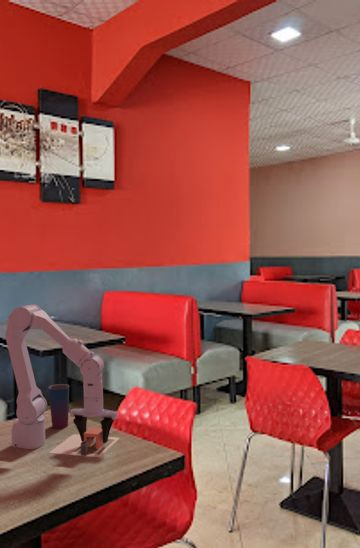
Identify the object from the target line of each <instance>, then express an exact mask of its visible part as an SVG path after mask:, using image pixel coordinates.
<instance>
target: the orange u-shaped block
mask: <svg viewBox="0 0 360 548" xmlns="http://www.w3.org/2000/svg"><path fill="white" fill-rule="evenodd" d="M90 437H96V438H94V439H95V441H94V439H93V440H92V441H90V442H89V443H88V448H89V447H90V446H92V445H93V444H94V443H95V450H100V449H101V448H102V447H103V446H104V445H106V443H103V432H102V428H101V427H99V428H98V427H89V429H86V432H85V433H84V442H85V441H86V440H87V439H89V438H90Z"/></svg>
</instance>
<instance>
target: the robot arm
mask: <svg viewBox="0 0 360 548" xmlns="http://www.w3.org/2000/svg"><path fill="white" fill-rule="evenodd" d="M7 320H8V323H7V326H6V328H5V329H6V331H5V334H4V336H5V341H6V345H7V349H8V353H9V357H10V361H11V366H12V370H13V373H14V377H15V382H16V386H17V391H18V395H17V397H16V406H17V407H16V412H15V413H16V418H17V419H16V420H15V421H14V422H13V424H12V426H11V447H12V448H20V449H26V450H34V449H39V448H42V447H43V446H45V445H46V422H45V420H46V419H45V412H46V410H47V409H48V403H47V400H46V398H45V397H44V396H43V393H42V390H41V389H40V388H39V387H38V386H37V384H36V380H35V376H34V371H33V366H32V361H31V358H30V354H29V350H28V346H27V343H26V336H27V335H28V333H29V331H31V329H32V330H41V331H43V332H44V333H45V334H46V335H48V336H49V337H50V338H51V339H52V340H54V341H55V342H56V343H57V344H58V345H59V346H61V347H62V353H63V354H64V355H65V356H66V357H67V358H68V360H70V361H71V362H73V363H74V364H75V366H76V367H78V368H79V372H80V374H81V375H82V377H83V381H82V383H83V408H72V409H71V410H69V413H70V417H71V418H74V419H73V420H72V421H73V424H74V425H75V427H76V429H77V432H78V434H79V435H80V437H81V441H84V433H85V432H86V431H87V423H88V418H92V419H93V418H95V419H97V418H98V419H102V420H101V421H100V426H101V427H102V432H103V443H105V444H106V443H107V442H108V441H109V439H108V437H110V432H111V429H112V426H113V423H114V422H115V420H117V418H118V417H119V416H118V411H115V410H109V409H106V408H105V409H104V391H103V390H104V387H103V372H102V371H103V370H104V367H105V362H104V359H103V358H102V357H101V356H100V355H99V354H95V352H94V350H93V351H91V350H89V349H88V348H87V346H85V345H84V344H83V343H84V341H83V340H81V339H79V340H78V339H77V338H70V337H69V336H68V334H66V332H65V331H64V330H63V329H62V328H61V327H60V326H59V325H58V324H56V322H55V321H54V320H52V318H51V317H50V316H49V315H48V314H47V312H46V311H44V310H43V309H41V307H40V306H39V305H37V304H34V303H29V304H27V305H23V306H19V307H16V308H14V309H13V310H12V311H11V312H10V314H9V315H8V316H7Z"/></svg>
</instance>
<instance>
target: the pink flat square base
mask: <svg viewBox="0 0 360 548" xmlns="http://www.w3.org/2000/svg"><path fill="white" fill-rule="evenodd" d="M100 428H102V426H101V427H100ZM93 439H96V437H90V438H89V439H87V440H86V441H85V442H84V441H81V437H80V434H79V433H77V434H76V433H73V434H72V435H70V436H69V437H68V438H66V439H65V440H64V441H62V442H61V443H59V445H57V446H55V448H53V449H51V450H50V451H49V452H48V454H56V455H58V454H60V455H68V456H77V457H78V456H80V457H89V458H90V457H91V458H100V457H102V455H104V454H105V453H106V452H107V451H108V450H109V449H110V448H111V447H112V446H113V445H114V444H115V443H116V442H117V441H119V440H120V439H121V437H118V436H117V437H116V436H113V437H112V436H108V440H111V441H112V442H110V443H109V444H108V445H107V446H106V447H105V448H104V449H103V450H102V451H101V452H100V453H98V454H97V453H89V447H88V443H89V442H90V441H92V440H93ZM79 448H80V452H76V451H77V450H78V449H79Z"/></svg>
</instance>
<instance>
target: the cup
mask: <svg viewBox="0 0 360 548" xmlns="http://www.w3.org/2000/svg"><path fill="white" fill-rule="evenodd" d="M48 397H49V398H48V399H49V409H50V417H51V419H50V420H51V427H52V429H56V430H62V429H66V428H68V427H69V412H70V410H69V405H70V385H69V384H66V383H58V384H52V385H48Z"/></svg>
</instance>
